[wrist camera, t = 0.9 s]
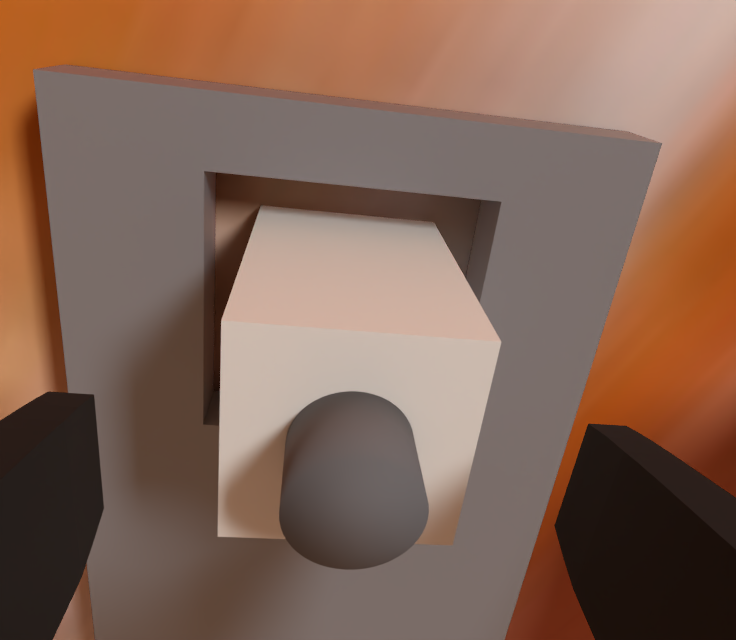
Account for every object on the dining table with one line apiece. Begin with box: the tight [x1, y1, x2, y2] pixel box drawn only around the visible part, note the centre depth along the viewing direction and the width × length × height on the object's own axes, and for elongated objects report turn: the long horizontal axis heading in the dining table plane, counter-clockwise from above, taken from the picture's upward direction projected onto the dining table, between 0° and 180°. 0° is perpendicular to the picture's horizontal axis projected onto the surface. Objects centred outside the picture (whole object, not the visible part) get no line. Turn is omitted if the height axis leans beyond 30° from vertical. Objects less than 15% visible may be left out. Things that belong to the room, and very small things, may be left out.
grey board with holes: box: [33, 65, 662, 640], centre depth 17 cm, size 12×23×2 cm, turn 173°
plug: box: [218, 205, 501, 570], centre depth 11 cm, size 4×4×8 cm
